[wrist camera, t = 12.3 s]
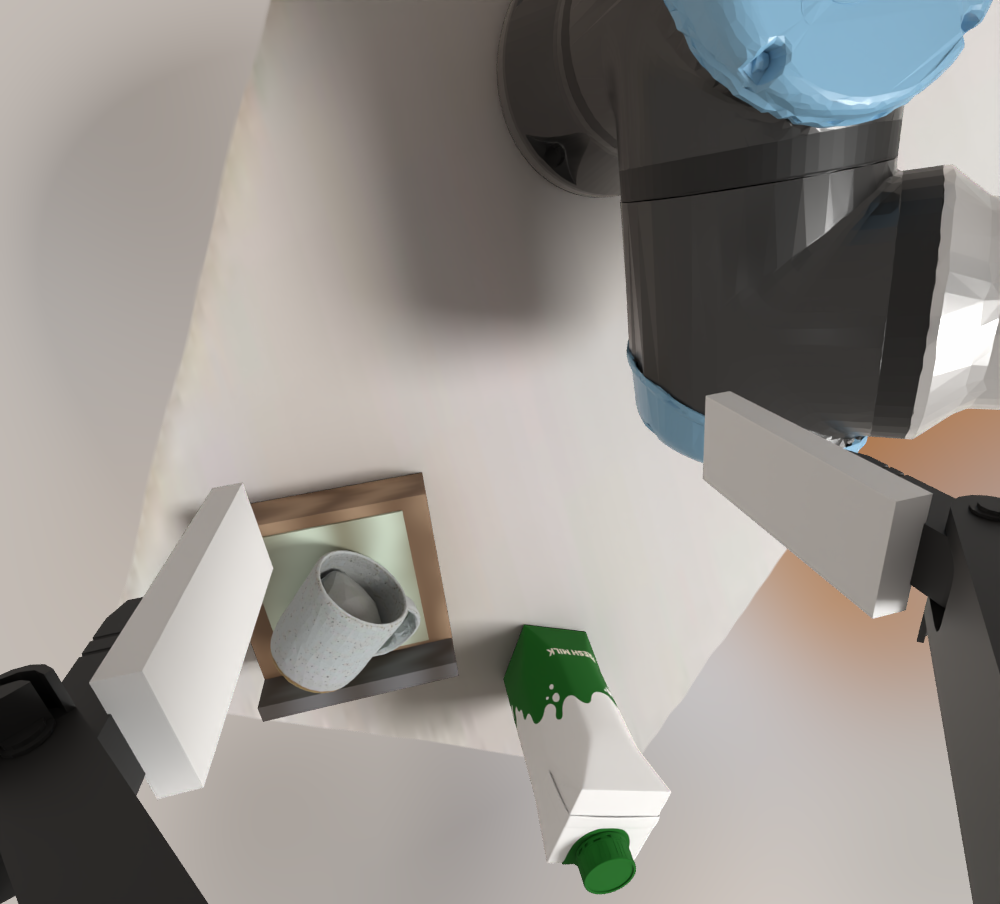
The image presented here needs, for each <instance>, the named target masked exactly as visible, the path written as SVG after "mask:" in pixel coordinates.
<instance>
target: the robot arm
mask: <svg viewBox="0 0 1000 904" xmlns="http://www.w3.org/2000/svg"><path fill="white" fill-rule="evenodd" d="M992 1H993V0H512V1H511V4H510V6H509V9H508V11H507V14H506V17H505V20H504V23H503V27H502V31H501V35H500V41H499V48H498V57H497V81H498V91H499V97H500V103H501V107H502V111H503V115H504V118H505V121H506V124H507V126H508V129H509V131H510V133H511V136H512V138H513V140H514V141H515V143H516V145H517V147H518V148H519V150H520V151H521V153H522V155H523V156H524V157H525V159H526V160H527V161H528V162H529V163H530V165H531V166H532V167H533V168H534V169H535V170H536V171H537V172H538V173H539V174H540V175H542V176H543V177H544V178H545V179H547V180H548V181H550V182H551V183H552V184H554V185H556V186H558V187H559V188H562V189H564V190H566V191H568V192H571V193H574V194H578V195H582V196H588V197H610V196H619V195H621V201H622V202H620V204H621V219H622V233H623V247H624V262H625V276H626V294H627V313H628V333H629V340H628V344H627V358H628V362H629V365H630V367H631V369H632V372H633V380H634V389H635V398H636V405H637V409H638V412H639V415H640V417H641V419H642V421H643V422H644V424H645V425H646V426H647V427H648V428H649V429H650V430H651V431H652V432H653V433H655V434H656V435H657V437H658V439H659V440H660V441H661V442H663V443H664V444H665V445H667V446H669V447H670V448H672V449H673V450H675V451H677V452H679V453H681V454H683V455H685V456H687V457H689V458H691V459H694V460H696V461H699V462H701V463H703V479H704V480H705V481H706V482H707V483H708V484H710V485H711V486H712V487H713V488H715V489H716V490H717V491H718V492H719V493H721V494H722V495H723V496H724V497H725V498H727V499H728V500H729V501H730V502H732V503H733V504H734V505H735V506H736V507H738V508H739V509H740V510H741V511H742V512H744V513H745V514H746V515H747V516H749V517H750V518H751V519H752V520H753V521H755V522H756V523H757V524H758V525H759V526H761V527H762V528H763V529H764V530H766V531H767V532H768V533H769V534H770V535H772V536H773V537H774V538H775V539H776V540H778V541H779V542H780V543H781V544H783V545H784V546H785V547H786V548H787V549H789V550H790V551H791V552H792V553H794V554H795V555H796V556H797V557H798V558H800V559H801V560H802V561H803V562H804V563H806V564H807V565H808V566H809V567H810V568H812V569H813V570H814V571H815V572H817V573H818V574H819V575H820V576H822V577H823V578H824V579H825V580H826V581H828V582H829V583H830V584H831V585H832V586H834V587H835V588H836V589H838V591H840V592H841V593H842V594H843V595H844V596H846V597H847V598H848V599H849V600H851V601H852V602H853V603H854V604H855V605H857V606H858V607H859V608H860V609H861V610H863V611H864V612H865V613H866V614H868V615H869V616H870V617H871V618H877V617H881V616H885V615H889V614H892V613H897V612H901V611H904V610H906V606H907V602H908V598H909V593H910V589H911V585H912V586H913V587H915V588H916V589H918V590H919V591H921V592H922V593H923V594H925V595H926V596H928V598H927V602H926V606H925V610H924V614H923V618H922V622H921V626H920V630H919V634H918V638H917V642H922V643H924V639H925V636H927V635H928V639H929V645H930V651H931V656H932V663H933V668H934V675H935V681H936V686H937V693H938V699H939V704H940V710H941V716H942V722H943V727H944V734H945V740H946V746H947V752H948V758H949V764H950V770H951V776H952V781H953V787H954V793H955V799H956V805H957V811H958V817H959V823H960V828H961V835H962V841H963V846H964V853H965V858H966V864H967V870H968V876H969V882H970V888H971V893H972V900H973V904H1000V498H997V497H992V496H982V495H970V496H962V497H958V498H956V499H955V498H953V497H951V496H949V495H947V494H945V493H943V492H941V491H939V490H937V489H935V488H933V487H931V486H928V485H926V484H925V483H923V482H921V481H919V480H917V479H915V478H913V477H911V476H909V475H905V476H904V473H902V472H900V471H898V470H896V469H894V468H892V467H890V468H889V467H888V465H886V464H884V463H882V462H880V461H878V460H876V459H874V458H872V457H870V456H867V455H864V454H860V453H858V451H859V450H860V449H861V448H862V447H863V446H864V445H865V443H866V441H867V437H868V436H872V437H886V438H901V439H902V438H903V439H914V438H915V437H917V436H918V435H920V434H922V433H923V432H925V431H926V430H928V429H929V428H931V427H933V426H934V425H936V424H937V423H939V422H941V421H942V420H943V419H945V418H947V417H948V416H950V415H952V414H954V413H956V412H959V411H962V410H964V409H967V408H974V409H998V410H1000V196H993V195H991V194H989V193H988V192H987V191H986V190H984V189H983V188H982V187H980V186H979V185H978V184H977V183H975V182H974V181H973V180H971V179H970V178H969V177H968V176H966V175H965V174H964V173H963V172H961V171H960V170H959V169H958V168H956V167H955V166H954V165H941V166H935V167H928V168H921V169H913V170H906V171H900V170H898V169H897V158H898V157H897V156H898V149H899V141H900V133H901V125H902V117H903V110H904V105H905V104H907V103H908V102H909V101H910V100H911V99H912V98H913V97H914V96H915V95H917V94H919V93H920V92H921V91H923V90H924V89H925V88H926V87H928V86H929V85H930V84H931V83H933V82H934V81H935V80H936V79H937V78H939V77H940V76H941V75H942V74H943V73H944V72H945V71H946V70H947V69H948V68H949V67H950V66H951V65H952V64H953V62H954V61H955V60H956V58H957V57H958V56H959V54H960V53H961V51H962V50H963V48H964V39H963V35H964V34H965V33H966V32H967V31H968V30H970V29H972V28H974V27H976V26H977V25H978V24H980V23H981V22H982V20H983V18H984V17H985V15H986V13H987V11H988V9H989V7H990V5H991V3H992ZM272 570H273V566H272V563H271V561H270V558H269V555H268V552H267V549H266V547H265V544H264V541H263V538H262V535H261V533H260V530H259V527H258V524H257V521H256V519H255V516H254V513H253V510H252V507H251V504H250V502H249V499H248V496H247V493H246V490H245V488H244V485H243V483H238V484H233V485H227V486H222V487H217V488H212V490H211V491H210V493H209V494H208V496H207V498H206V499H205V501H204V502H203V504H202V506H201V507H200V509H199V510H198V512H197V513H196V515H195V517H194V518H193V520H192V521H191V523H190V524H189V526H188V528H187V529H186V531H185V532H184V534H183V535H182V537H181V539H180V540H179V542H178V543H177V545H176V546H175V548H174V550H173V551H172V553H171V554H170V556H169V557H168V559H167V561H166V562H165V564H164V565H163V567H162V568H161V570H160V572H159V573H158V575H157V576H156V578H155V580H154V581H153V583H152V584H151V586H150V587H149V589H148V591H147V592H146V594H145V595H144V597H141V598H136V599H132V600H127V601H126V602H125V603H124V604H123V605H122V606H120V607H119V608H118V609H117V610H116V611H115V612H113V613H112V614H111V615H110V616H109V617H107V618H106V620H105V621H104V622H103V624H102V625H101V627H100V628H99V629H98V631H97V633H96V634H95V635H94V637H93V641H91V642H89V644H88V645H87V647H86V648H85V650H84V651H83V653H82V657H79V658H78V660H77V661H76V663H75V664H74V665H73V667H72V668H71V670H70V671H69V673H68V674H67V676H66V677H65V678H64V680H63V681H62V682H61V681H60V679H59V678H58V676H57V674H56V673H55V671H54V670H53V669H52V668H51V667H49V666H47V665H45V664H41V665H28V666H24V667H21V668H17V669H13V670H10V671H8V672H6V673H4V674H2V675H0V904H1V903H3V902H5V901H6V900H8V899H10V898H12V897H14V896H16V898H17V901H18V903H19V904H208V903H207V901H206V900H205V898H204V897H203V895H202V894H201V892H200V891H199V889H198V888H197V886H196V885H195V883H194V882H193V880H192V879H191V877H190V876H189V874H188V873H187V871H186V870H185V868H184V867H183V865H182V864H181V862H180V861H179V859H178V858H177V856H176V855H175V853H174V852H173V850H172V849H171V847H170V846H169V844H168V843H167V841H166V840H165V838H164V837H163V835H162V834H161V832H160V831H159V829H158V828H157V826H156V825H155V823H154V822H153V820H152V819H151V817H150V816H149V815H148V813H147V812H146V810H145V809H144V807H143V805H142V804H141V803H140V801H139V800H138V798H137V797H136V795H137V793H138V791H139V788H140V785H141V783H142V781H143V779H144V777H145V779H146V781H147V782H148V784H149V786H150V787H151V789H152V791H153V793H154V794H155V796H156V798H157V799H160V798H164V797H168V796H172V795H175V794H180V793H184V792H188V791H192V790H195V789H199V788H203V787H204V784H205V781H206V778H207V775H208V772H209V769H210V765H211V762H212V759H213V756H214V753H215V750H216V747H217V743H218V740H219V737H220V734H221V731H222V727H223V725H224V721H225V718H226V715H227V712H228V709H229V706H230V703H231V699H232V696H233V693H234V690H235V687H236V684H237V680H238V677H239V674H240V671H241V668H242V665H243V662H244V658H245V655H246V652H247V649H248V646H249V643H250V640H251V636H252V633H253V630H254V627H255V624H256V621H257V618H258V614H259V611H260V608H261V605H262V602H263V599H264V595H265V592H266V589H267V586H268V583H269V580H270V577H271V573H272Z"/></svg>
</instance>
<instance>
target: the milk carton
mask: <svg viewBox="0 0 1000 904" xmlns="http://www.w3.org/2000/svg"><path fill="white" fill-rule="evenodd" d="M503 680H504V683H505V687H506V691H507V695H508V698H509V702H510V706H511V709H512V713H513V717H514V721H515V724H516V728H517V732H518V736H519V739H520V743H521V747H522V750H523V754H524V758H525V762H526V765H527V769H528V773H529V777H530V781H531V784H532V788H533V792H534V796H535V800H536V805H537V811H538V816H539V822H540V827H541V832H542V838H543V843H544V849H545V854H546V861H547V863H562V864H575V865H577V866H578V868H579V871H580V874H581V877H582V880H583V884H584V886H585V888H586V890H587V891H589V892H591V893H594V894H606V893H611V892H614V891H616V890H618V889H620V888H622V887H624V886H625V885H626V884H627V883H629V882H630V881H631V879H632V878H633V877H634V874H635V872H636V866H635V862H634V860H635V858H636V856H637V855H638V853H639V851H640V849H641V848H642V846H643V844H644V843H645V841H646V839H647V837H648V836H649V834H650V832H651V830H652V829H653V827H655V825H656V824H657V822H658V820H659V818H660V815H659V813H660V811H661V810H662V808H663V806H664V804H665V803H666V801H667V799H668V797H669V795H670V793H671V791H670V790H669V788H668V787H667V786H666V784H665V783H664V782H663V781H662V779H661V778H660V777H659V775H658V774H657V773H656V772H655V770H654V769H653V768H652V766H651V765H650V764H649V762H648V761H647V760H646V759H645V757H644V756H643V755H642V753H641V752H640V751H639V749H638V748H637V746H636V744H635V742H634V740H633V738H632V736H631V734H630V732H629V730H628V728H627V726H626V724H625V721H624V719H623V717H622V715H621V713H620V711H619V709H618V707H617V705H616V703H615V701H614V699H613V697H612V695H611V693H610V691H609V688H608V686H607V684H606V682H605V680H604V678H603V676H602V674H601V672H600V669H599V666H598V663H597V661H596V658H595V655H594V653H593V650H592V647H591V645H590V642H589V639H588V637H587V634H586V632H582V631H573V630H565V629H556V628H548V627H539V626H531V625H524V626H523V629H522V631H521V634H520V637H519V639H518V642H517V644H516V647H515V650H514V652H513V655H512V658H511V660H510V663H509V665H508V668H507V671H506V673H505V676H504V679H503Z"/></svg>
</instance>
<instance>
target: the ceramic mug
mask: <svg viewBox="0 0 1000 904" xmlns="http://www.w3.org/2000/svg"><path fill="white" fill-rule="evenodd" d="M408 611H409V615H408V616H407V613H408ZM406 616H407V617H406ZM405 617H406V619H405ZM404 619H405V620H404ZM419 625H420V614H419V612H418V610H417V608H416V605H415V604H414V602H413V601H412V599H410V598H409V597H407V596H406V595H405V592H404V590H403V588H402V587H401V585H400V583H399V582H398V581H397V580H396V578H395V577H394V576H393V575H392V574H391V573H390V572H389V571H388V570H387V569H386V568H384V567H383V566H382V565H380V564H379V563H377V562H376V561H374V560H372V559H370V558H369V557H366V556H364V555H362V554H359V553H356V552H352V551H347V550H336V551H331V552H329V553H326V554H325V555H323V556H322V557H321V558H320V559H319V560H318V561H317V563H316V564H315V566H314V567H313V569H312V570H311V572H310V573H309V575H308V577H307V578H306V580H305V581H304V582H303V584H302V585H301V587H300V588H299V590H298V592H297V593H296V595H295V596H294V598H293V600H292V601H291V603H290V604H289V606H288V607H287V608H286V610H285V611H284V613H283V614H282V616H281V617H280V619H279V621H278V622H277V625H276V627H275V630H274V632H273V634H272V638H271V644H270V651H271V656H272V660H273V662H274V664H275V666H276V668H277V669H278V671H279V672H280V673H281V674H282V675H283V676H284V677H285V678H286V679H287V681H288V682H290V683H291V684H293V685H295V686H296V687H298V688H300V689H303V690H305V691H309V692H312V693H329V692H334V691H336V690H338V689H340V688H342V687H344V686H345V685H347V684H348V683H349V682H350V681H351V680H353V679H354V678H355V677H356V676H357V675H358V674H359V673H360V672H361V671H362V669H363V668H364V667H365V666H366V664H367V663H368V662H369V660H370V659H371V658H372V657H374V656H378V655H383V654H386V653H388V652H390V651H393V650H394V649H396V648H398V647H399V646H401V645H402V644H404V643H405V642H406V641H407V640H408V639H409V638H410V637H411V636H412V635H413V634H414V633H415V632H416V630H417V629H418V627H419Z"/></svg>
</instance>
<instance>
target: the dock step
mask: <svg viewBox="0 0 1000 904" xmlns="http://www.w3.org/2000/svg"><path fill="white" fill-rule="evenodd" d="M251 507H252V510H253V513H254V516H255V519H256V521H257V524H258V527H259V530H260V533H261V535H262V538H263V541H264V544H265V547H266V549H267V552H268V555H269V558H270V561H271V563H272V566H273V570H272V573H271V577H270V580H269V583H268V586H267V589H266V592H265V595H264V599H263V602H262V605H261V608H260V611H259V614H258V618H257V621H256V624H255V627H254V630H253V633H252V636H251V640H250V642H251V645H252V647H253V650H254V652H255V655H256V658H257V660H258V663H259V666H260V668H261V671H262V673H263V676H264V679H265V681H264V685H263V689H262V693H261V697H260V701H259V705H258V710H259V713H260V715H261V718H262V720H263V722H264V721H268V720H272V719H276V718H281V717H285V716H289V715H293V714H298V713H302V712H306V711H310V710H315V709H319V708H323V707H327V706H332V705H336V704H340V703H344V702H349V701H353V700H357V699H361V698H366V697H370V696H374V695H378V694H383V693H387V692H391V691H395V690H400V689H404V688H408V687H412V686H417V685H421V684H425V683H429V682H434V681H438V680H442V679H446V678H451V677H455V676H459V675H458V669H457V663H456V657H455V652H454V646H453V640H452V634H451V628H450V622H449V617H448V611H447V606H446V601H445V595H444V590H443V584H442V579H441V573H440V568H439V562H438V557H437V551H436V546H435V541H434V535H433V530H432V524H431V519H430V513H429V508H428V502H427V497H426V491H425V486H424V481H423V475H422V473H417V474H411V475H406V476H400V477H395V478H389V479H384V480H378V481H373V482H367V483H362V484H356V485H351V486H345V487H340V488H334V489H329V490H323V491H318V492H312V493H307V494H301V495H296V496H290V497H285V498H279V499H274V500H268V501H263V502H257V503H252V504H251ZM336 550H347V551H352V552H356V553H359V554H362V555H364V556H366V557H369V558H370V559H372V560H374V561H376V562H377V563H379V564H380V565H382V566H383V567H384V568H386V569H387V570H388V571H389V572H390V573H391V574H392V575H393V576H394V577H395V578H396V580H397V581H398V582H399V583H400V585H401V587H402V588H403V590H404V592H405V595H406V596H407V597H409V598H410V599H412V601H413V602H414V604H415V605H416V608H417V610H418V612H419V614H420V625H419V627H418V629H417V630H416V632H415V633H414V634H413V635H412V636H411V637H410V638H409V639H408V640H407V641H406V642H405V643H404V644H402V645H401V646H399V647H398V648H396V649H394V650H393V651H390V652H388V653H386V654H383V655H378V656H374V657H372V658H371V659H370V660H369V662H368V663H367V664H366V666H365V667H364V668H363V669H362V671H361V672H360V673H359V674H358V675H357V676H356V677H355V678H354V679H353V680H351V681H350V682H349V683H348V684H347V685H345V686H344V687H342V688H340V689H338V690H336V691H334V692H329V693H312V692H309V691H305V690H303V689H300V688H298V687H296V686H295V685H293V684H291V683H290V682H288V681H287V679H286V678H285V677H284V676H283V675H282V674H281V673H280V672H279V671H278V669H277V668H276V666H275V664H274V662H273V660H272V656H271V651H270V644H271V638H272V634H273V632H274V630H275V627H276V625H277V622H278V621H279V619H280V617H281V616H282V614H283V613H284V611H285V610H286V608H287V607H288V606H289V604H290V603H291V601H292V600H293V598H294V596H295V595H296V593H297V592H298V590H299V588H300V587H301V585H302V584H303V582H304V581H305V580H306V578H307V577H308V575H309V573H310V572H311V570H312V569H313V567H314V566H315V564H316V563H317V561H318V560H319V559H320V558H321V557H322V556H323V555H325V554H326V553H329V552H331V551H336ZM408 615H409V611H408V613H407V616H408ZM407 616H406V617H407ZM406 617H405V619H406ZM405 619H404V620H405Z"/></svg>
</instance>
